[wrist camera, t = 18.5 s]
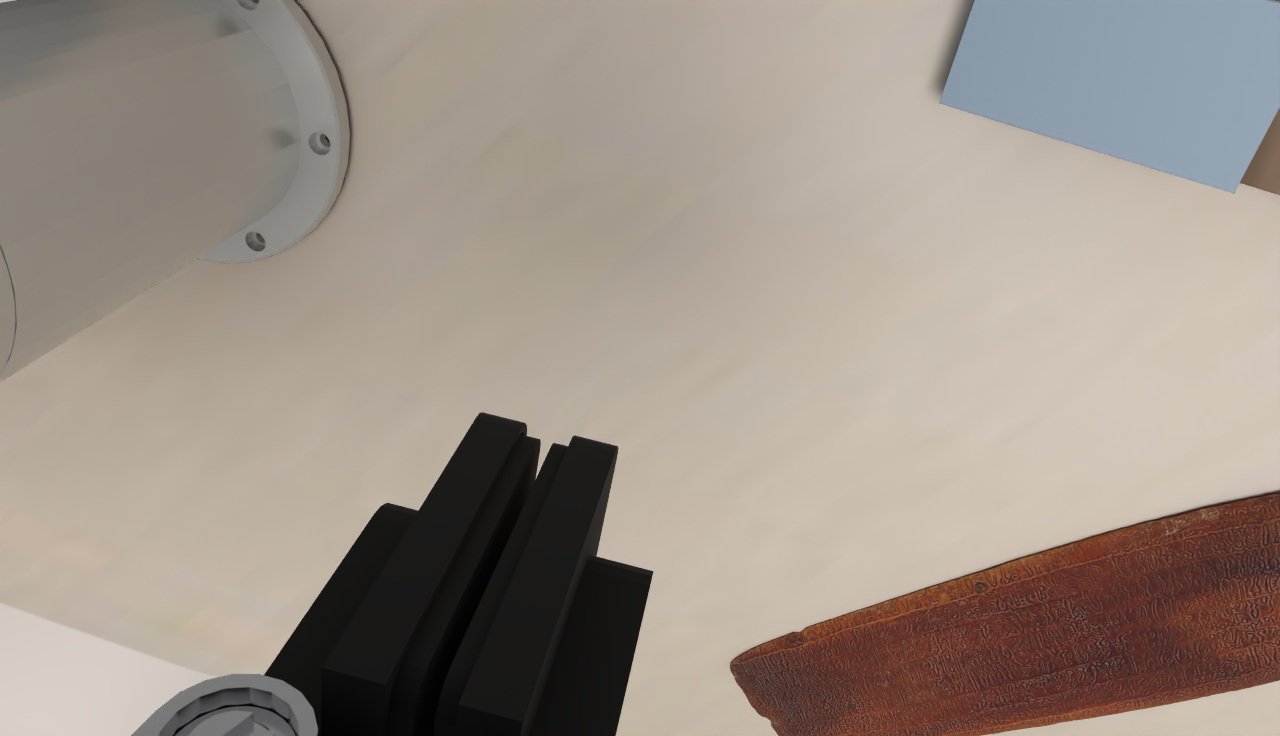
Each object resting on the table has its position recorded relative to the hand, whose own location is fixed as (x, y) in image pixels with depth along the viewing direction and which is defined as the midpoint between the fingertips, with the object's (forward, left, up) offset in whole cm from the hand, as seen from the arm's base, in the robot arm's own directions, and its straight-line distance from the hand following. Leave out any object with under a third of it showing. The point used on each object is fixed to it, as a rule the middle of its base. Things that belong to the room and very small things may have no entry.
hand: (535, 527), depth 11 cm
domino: (+7, +4, -24) cm, 26 cm away
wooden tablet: (+19, -22, -26) cm, 39 cm away
